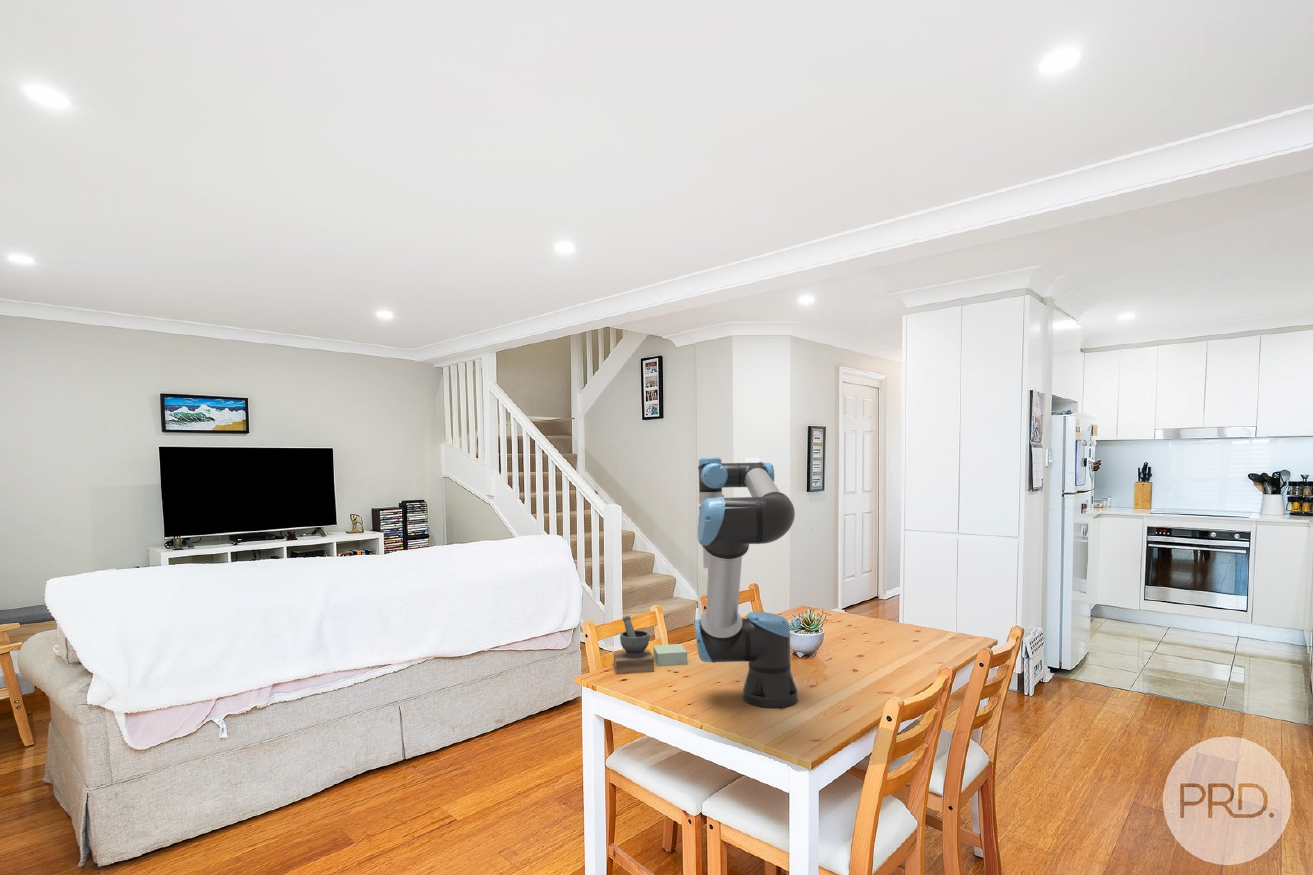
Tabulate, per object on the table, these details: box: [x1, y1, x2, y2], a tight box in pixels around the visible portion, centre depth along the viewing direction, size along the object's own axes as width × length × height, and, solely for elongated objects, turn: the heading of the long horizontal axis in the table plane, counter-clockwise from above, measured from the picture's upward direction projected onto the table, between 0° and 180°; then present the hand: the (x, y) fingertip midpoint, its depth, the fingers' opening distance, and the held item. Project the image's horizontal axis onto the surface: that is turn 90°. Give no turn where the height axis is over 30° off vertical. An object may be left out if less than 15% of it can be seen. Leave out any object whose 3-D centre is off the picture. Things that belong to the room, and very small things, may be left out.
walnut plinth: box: [613, 649, 655, 675], centre depth 211 cm, size 11×12×4 cm
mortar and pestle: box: [619, 615, 650, 658], centre depth 212 cm, size 11×9×12 cm
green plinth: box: [652, 643, 688, 667], centre depth 218 cm, size 10×10×4 cm
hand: (712, 571), depth 207 cm, fingers open, 13 cm apart
